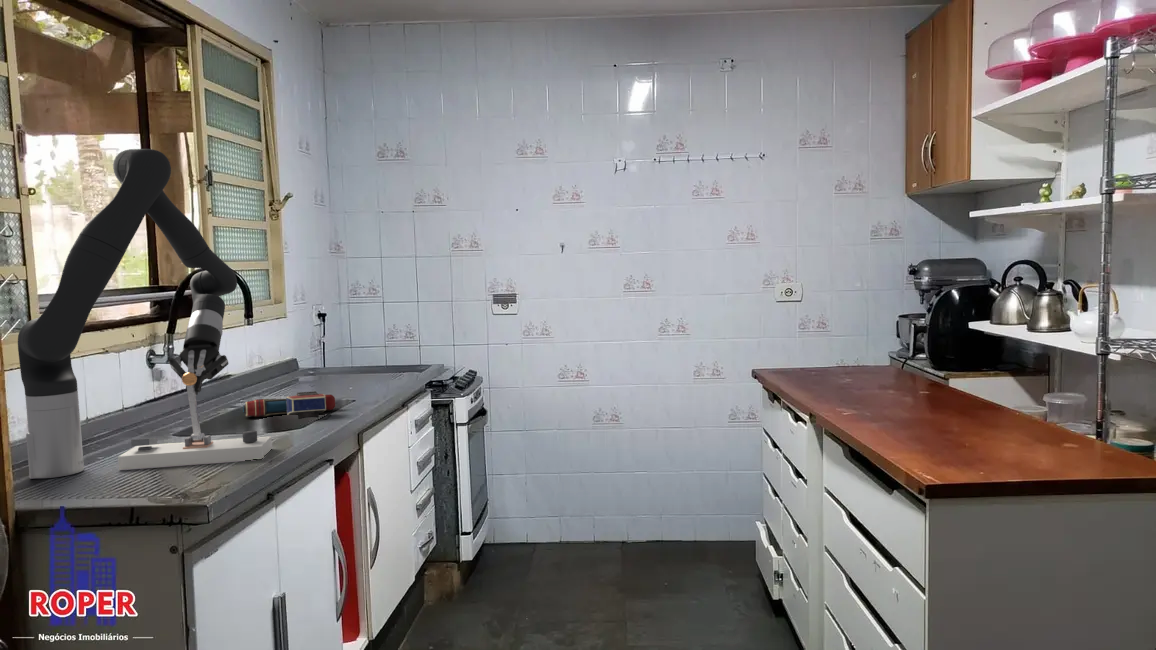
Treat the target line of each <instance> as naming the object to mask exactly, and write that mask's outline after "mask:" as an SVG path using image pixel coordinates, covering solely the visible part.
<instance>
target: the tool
mask: <svg viewBox="0 0 1156 650" xmlns="http://www.w3.org/2000/svg"><path fill="white" fill-rule="evenodd" d="M335 399H336V398H335V396H334V395H333V394H324V393H318V391H317V390H314V391H313V390H312V391H301V392H296V395H289V396H286V397H285V398H276V399H267V398H258V399H254V400H249V401H245V403H244V404H245V405H242V413H243V414H245V417H254V418H261V417H269V416H273V415H281V414H283V415H284V414H286V415H287V416H293V415H297V419H298V420H302V419H306V418H307V419H308V418H320V414H319V413H325V411H333V410H334V409H335V408H336V400H335Z"/></svg>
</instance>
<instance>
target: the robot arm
mask: <svg viewBox="0 0 1156 650" xmlns="http://www.w3.org/2000/svg"><path fill="white" fill-rule="evenodd" d="M171 166H172V165H171V162H170V160H169V159H168V157H167V156H166V155H165V154H164V153H163V152H161V151H160V150H156V149H151V148H132V149H125V150H122V151H121V152H119V153H117V155H116V156H115V158H114V159H113V164H112V168H113V174H114V176H115V177H116V179H117V181H118V182H119V183H120V184H121V185H120V186H119V189H118V190H117V192H116V194H115V195H114V197H113V198H112V199H111V200H110V201H109V203H108V204H106V206H104V208H102V209H101V210H100V211H99V212H98V213H97V214H96V215H95V216H93V218H92V219H90V221H88V223H87V224H86V225H85V226H84V227H83V228H82V229H81V231H80V233H79V235H78V236H77V238H76V240H75V241H74V244H73V245H72V247H71V248H70V250H69V253H68V254H67V256H66V259H65V263H64V266H63V268H62V273H61V276H60V280H59V284H58V285H57V286H58V287H57V289H56V292H55V294H54V295H53V297H52V299H51V300H50V301H49V303H48V305H47V306H46V308H45V309H44V311H43V312H42V313H41V315H40V316H39V317H37V318H33V319H31V320H29V321H27V322H26V323H24V324H23V325H22V327H21V328H20V330H19V332H18V336H17V351H18V359H19V370H20V378H21V382H22V384H23V388H24V395H25V398H24V399H25V407H26V417H27V430H28V431H27V432H26V434H25V438H26V448H27V449H26V452H27V461H28V464H27V465H28V476H29V479H31V480H32V479H52V478H59V477H64V476H65V477H66V476H71V475H74V474H78V473H80V472H82V471H84V469H85V466H84V461H85V460H84V455H83V454H84V452H83V440H82V439H83V438H82V427H81V426H82V425H81V416H80V415H81V414H80V405H79V404H80V402H79V392H78V391H79V388H78V380H77V378H76V375H75V373H74V370H73V366H72V356H71V354H73V352H74V351H75V349H76V347H77V345H78V343H79V340H80V337H81V335H82V332H83V330H84V328H85V325H86V323H87V321H88V318H89V316H90V314H91V312H92V309H93V307H94V305H95V304H96V302H97V301H98V299H99V298H100V296H101V295H102V293H103V292H104V290H105V289H106V287H107V285H108V283H109V282H110V280H111V279H112V276H113V275H114V273H115V272H116V270H117V269H118V266H119V265H120V263H121V261H122V260H123V258H124V256H125V254H126V252H127V251H128V247H129V246H130V244H131V242H132V240H133V238H134V236H135V235H136V234H137V231H138V229H139V228H140V226H141V224H142V222H143V220H144V218H145V216H146V215H148V216H149V217H150V218H151V219H152V221H153V222H154V223H155V225H156V226H157V227H158V229H159V230H160V231H161V232H162V235H164V238H166V240H167V242H168V243H169V245H170V246H171V247H172V249H173V250H174V252H175V253H176V255H177V256H178V258H179V259H180V262H181V263H182V264H183V265H184V267H185V268H188V269H203V270H202V271H199V272H197V273H195V274H194V275H192V277H191V279H190V282H189V288H190V291H191V297H192V299H191V300H192V309H191V314H190V318H189V319H188V322H187V328H186V333H185V337H184V342H183V346H182V350H181V351H180V353H179V356H177V357H176V358H173V357H170V358H169V359H168V360H167V361H168V363H169V366H170V368H171V369H172V370H173V371H174V373H176V374H177V376H178V377H179V378H180V379H181V380H182V376H183V375H184V374H185V373H187V372H192V373H194V374H195V375H196V376H197V382H196V383H195V384H194V387H195V394H196V396H198V394H199V393H200V392H202V387H203V382H204V381H205V380H208V381H209V380H212V379H213V378H214V377H216V375H218V374H219V373H221V371H222V370H224V369H225V368H226V367H227V366H228V365H229V363H230V362H229V360H228V357H227V356H226V355H225V354H221V353H220V347H221V341H222V336H223V327H224V325H223V321H224V316H225V309H226V304H225V300H223V298H222V297H221V296H225V295H229V294H231V293H233V292H235V290H236V289H237V287H238V279H237V275H236V274H235V272H234V271H233V269H232V268H231V267H230V266H229V265H228V264H227V263H225V261H224V260H222V259H221V258H220V257H219V256H218V255H217V254H216V253H215V252H214V251H213V250H211V248H210V246H209V245H208V244H207V242H206V240H205V238H204V237H203V235H202V234H201V232H200V231H199V229H198V228H197V226H195V224H194V223H193V222H192V221H191V220H190V219H189V218H188V217H187V216H186V215H185V214H184V213H183V212H182V211H181V210H180V209H179V208H178V207H177V206H176V205H175V204H174V203H173V202H172V200H171V199H170V198H169V197H168V196H167V194H166V192H165V191H164V189H165V187H166V186H167V184H168V183H169V180H170V178H171V176H172V175H171V174H172V167H171ZM182 363H183V364H184V365H185V366H186V367H187V371H186V370H185V369H184V368H183V367H182ZM185 389H186V391H187V385H185Z"/></svg>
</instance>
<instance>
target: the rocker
mask: <svg viewBox="0 0 1156 650" xmlns="http://www.w3.org/2000/svg"><path fill="white" fill-rule="evenodd" d="M130 444H131V447H136V446H143V445H155V444H158V437H151V438H139V439H138V438H137V439H131V443H130Z"/></svg>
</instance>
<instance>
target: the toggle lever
mask: <svg viewBox="0 0 1156 650" xmlns="http://www.w3.org/2000/svg"><path fill="white" fill-rule="evenodd" d="M186 372H187V373H185V374H184V375H183V376H182V379H181V382H182V383H183V385H185V386H186V385H187V390H186V392H187V398H188V405H189V412H190V420H191V426H192V427H191V428H192V433H191V434H190V437H191V442H192V443H197V442H204V437H205V436H206V434H205V433H204V432H201V431H202V430H201V426H200V419H199V418H200V416H199V411H198V410H199V409H198V403H197V395H196V394H195V387H194V384H195V383H196V382H197V376H196V375H195V374H194V373H192V372H188V371H186Z"/></svg>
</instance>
